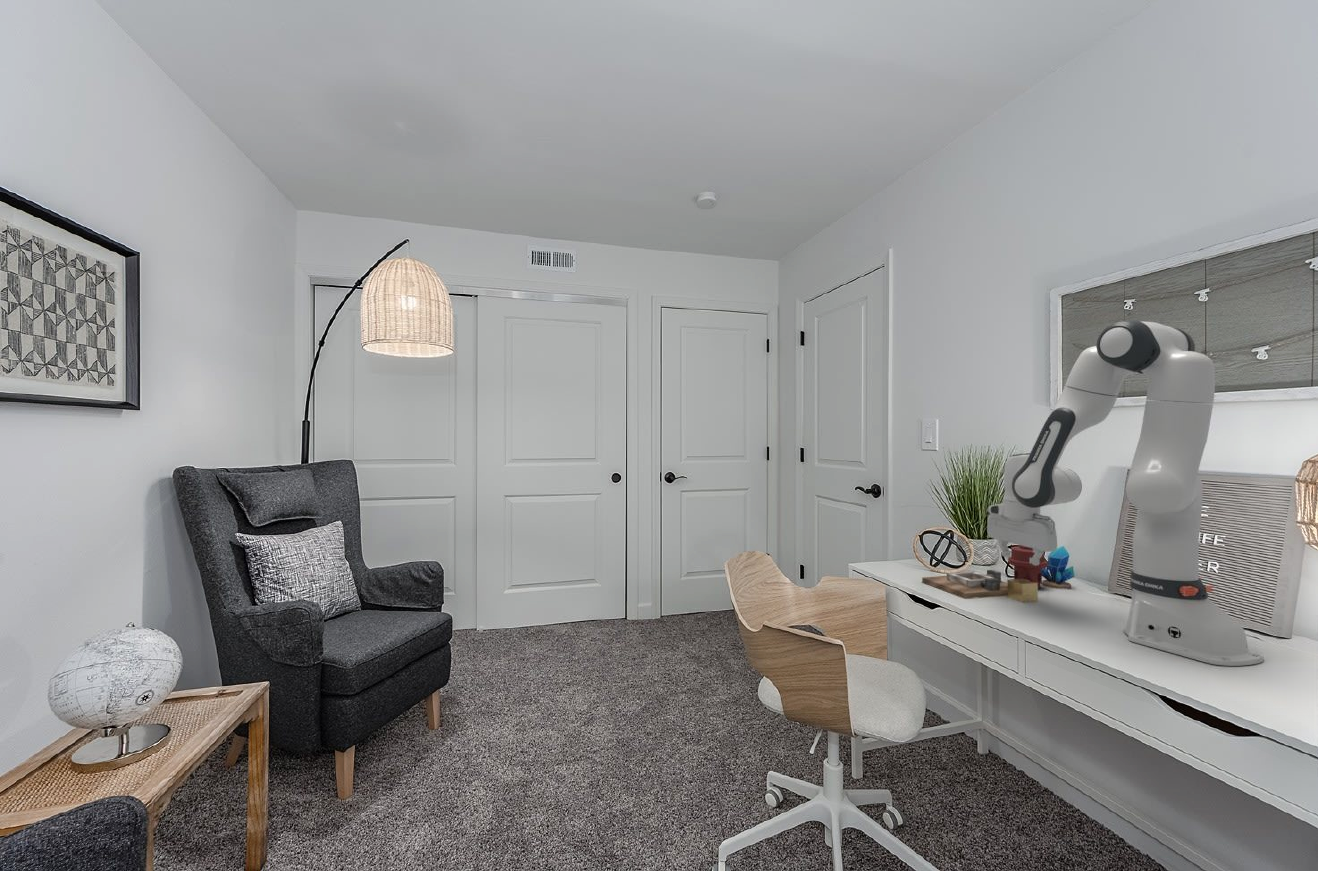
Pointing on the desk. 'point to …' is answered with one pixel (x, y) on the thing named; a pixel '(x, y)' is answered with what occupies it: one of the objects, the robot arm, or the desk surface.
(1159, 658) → the desk surface
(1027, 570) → the mechanical component
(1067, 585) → the gemstone
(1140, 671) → the desk surface
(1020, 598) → the tan cube
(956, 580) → the stand
